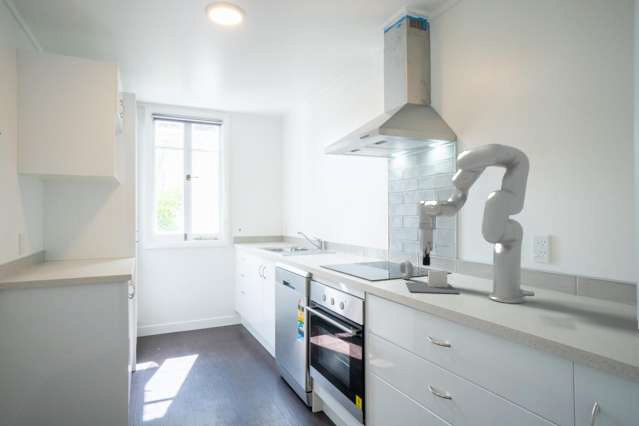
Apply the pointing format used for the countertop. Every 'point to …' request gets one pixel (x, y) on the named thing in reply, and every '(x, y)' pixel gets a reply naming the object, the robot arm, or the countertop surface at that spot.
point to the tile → (437, 278)
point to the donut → (409, 269)
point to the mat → (430, 288)
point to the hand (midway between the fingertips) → (426, 265)
